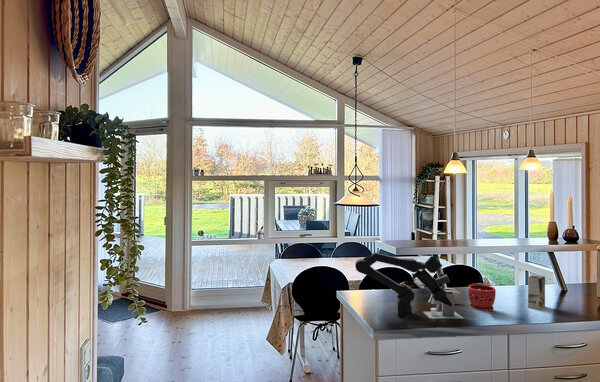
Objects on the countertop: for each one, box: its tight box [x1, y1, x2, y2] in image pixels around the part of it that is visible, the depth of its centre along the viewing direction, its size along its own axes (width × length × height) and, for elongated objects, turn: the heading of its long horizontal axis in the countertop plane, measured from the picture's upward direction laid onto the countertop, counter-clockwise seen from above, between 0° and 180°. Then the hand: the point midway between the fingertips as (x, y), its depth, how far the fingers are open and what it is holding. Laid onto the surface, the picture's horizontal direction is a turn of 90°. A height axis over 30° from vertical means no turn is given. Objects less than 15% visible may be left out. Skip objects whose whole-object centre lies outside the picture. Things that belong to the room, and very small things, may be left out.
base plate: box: [423, 307, 464, 319], centre depth 202 cm, size 16×11×4 cm
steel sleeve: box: [441, 292, 455, 317], centre depth 203 cm, size 5×5×10 cm
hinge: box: [427, 287, 462, 305], centre depth 229 cm, size 17×5×10 cm, turn 98°
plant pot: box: [467, 284, 497, 313], centre depth 217 cm, size 13×13×12 cm
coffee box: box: [527, 275, 546, 311], centre depth 223 cm, size 9×6×16 cm
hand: (451, 304), depth 202 cm, fingers closed on steel sleeve, 5 cm apart
